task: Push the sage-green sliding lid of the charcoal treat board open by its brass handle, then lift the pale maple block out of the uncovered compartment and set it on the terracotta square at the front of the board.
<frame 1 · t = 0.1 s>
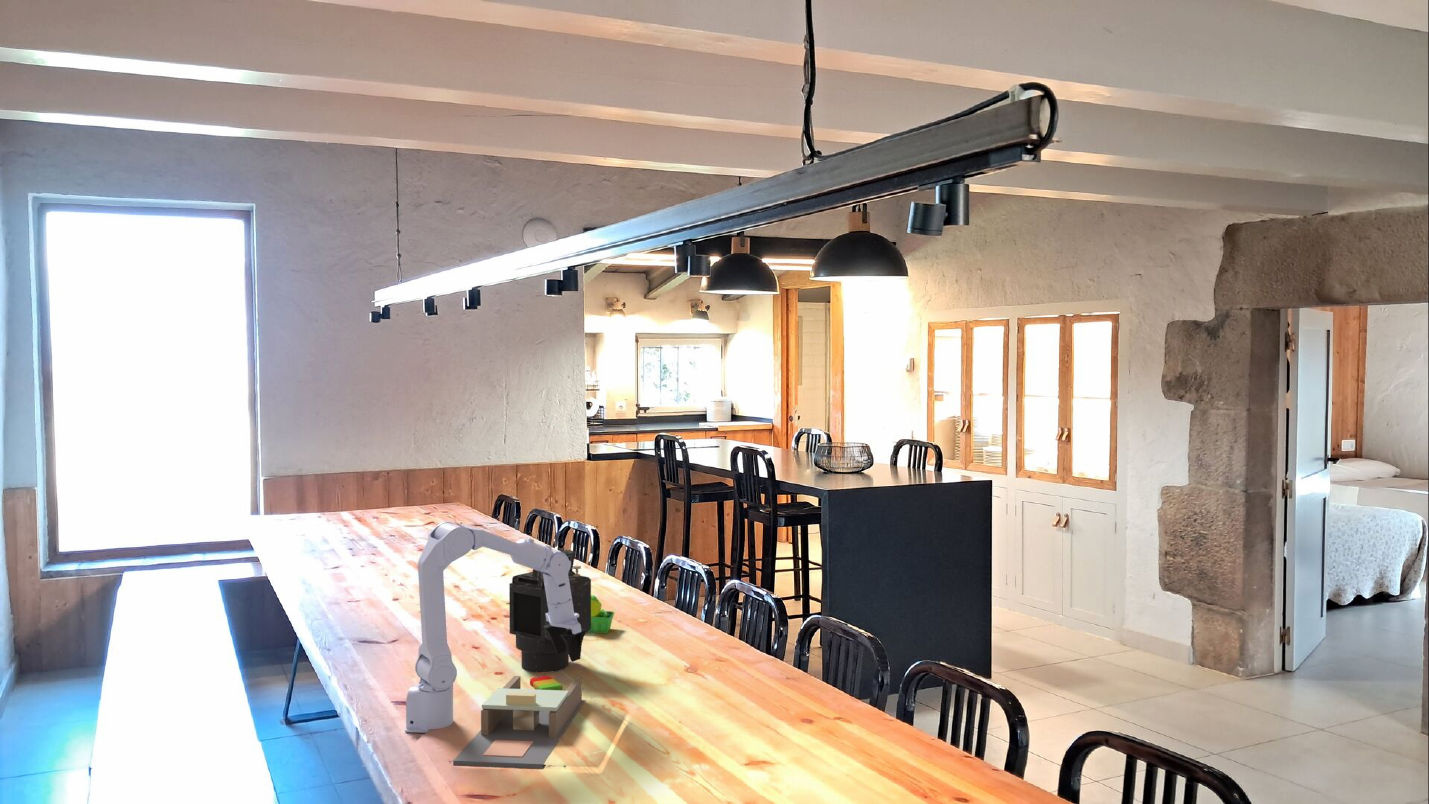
hand: (568, 656, 236), 11 cm above the table, tool pointing down, fingers open, 7 cm apart
board: (526, 730, 217), on the table
popsicle: (549, 693, 244), on the table
block: (526, 726, 217), point 1 cm above the table, touching board
lid: (526, 694, 217), point 8 cm above the table, slide at 0.0 cm
fruit basket: (593, 631, 299), on the table
lantern: (549, 667, 263), on the table
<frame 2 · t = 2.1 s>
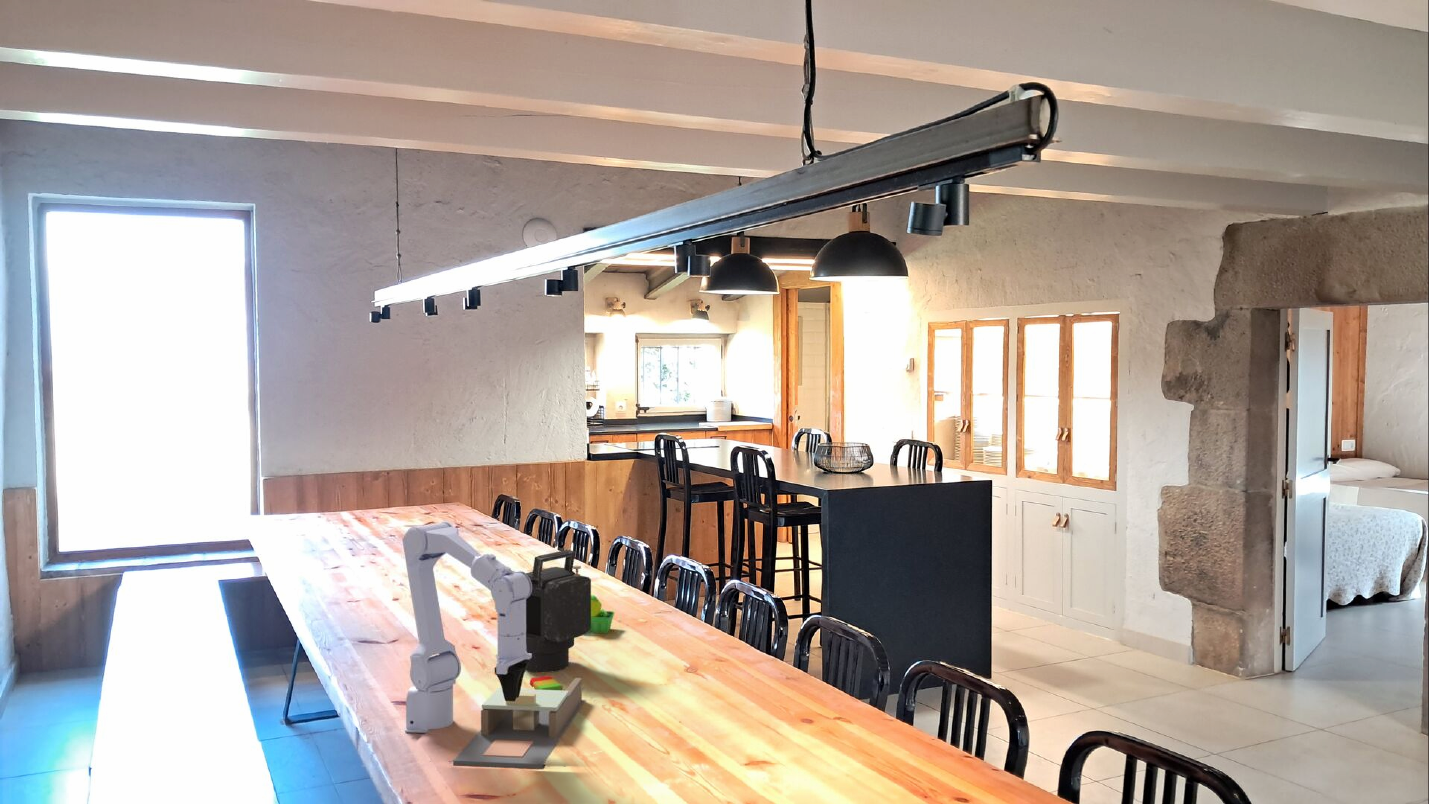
hand: (512, 698, 206), 10 cm above the table, tool pointing down, fingers closed
nothing on the table moved.
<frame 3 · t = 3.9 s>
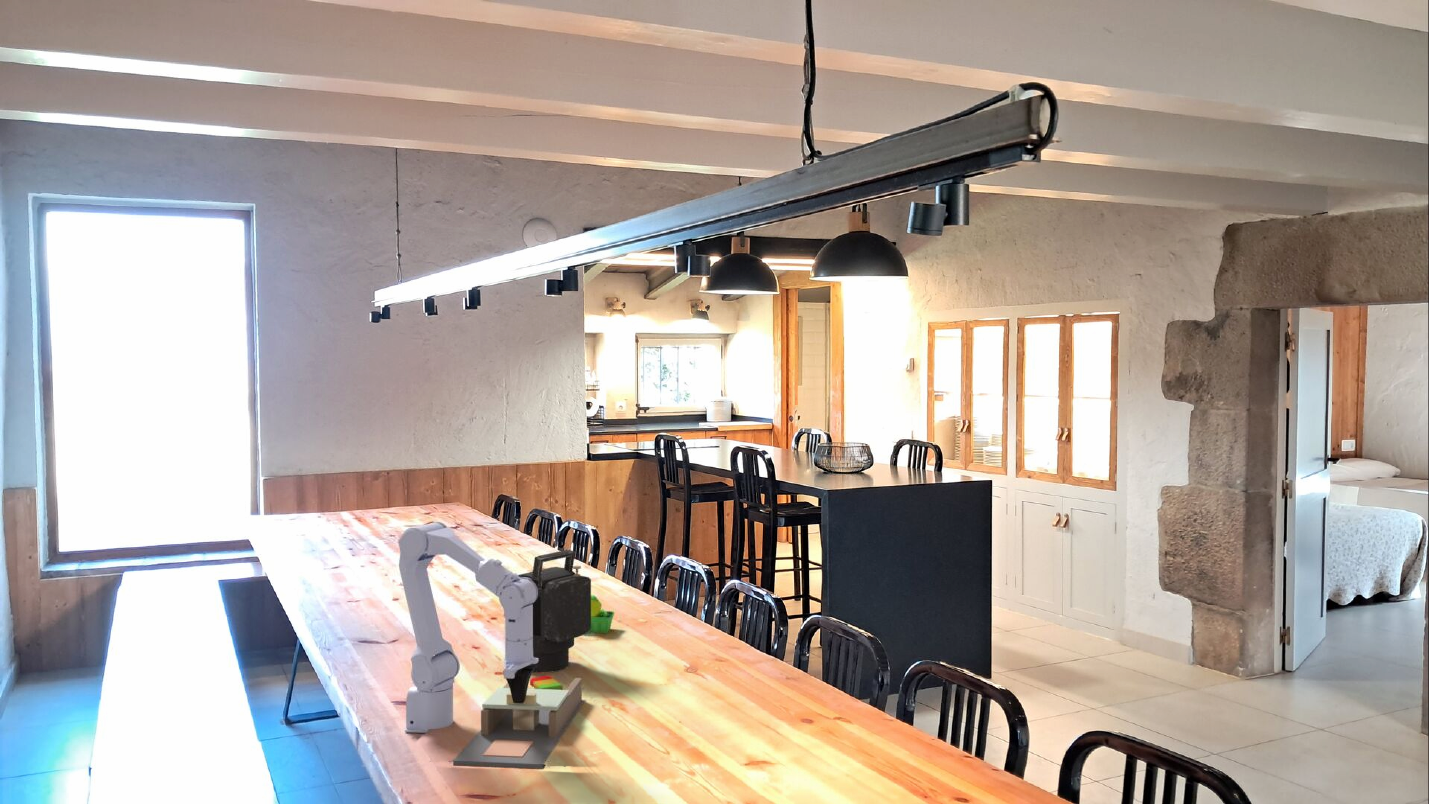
hand: (519, 702, 211), 8 cm above the table, tool pointing down, fingers closed
lid: (526, 694, 217), point 8 cm above the table, slide at 0.4 cm, touching gripper
everything else where it was.
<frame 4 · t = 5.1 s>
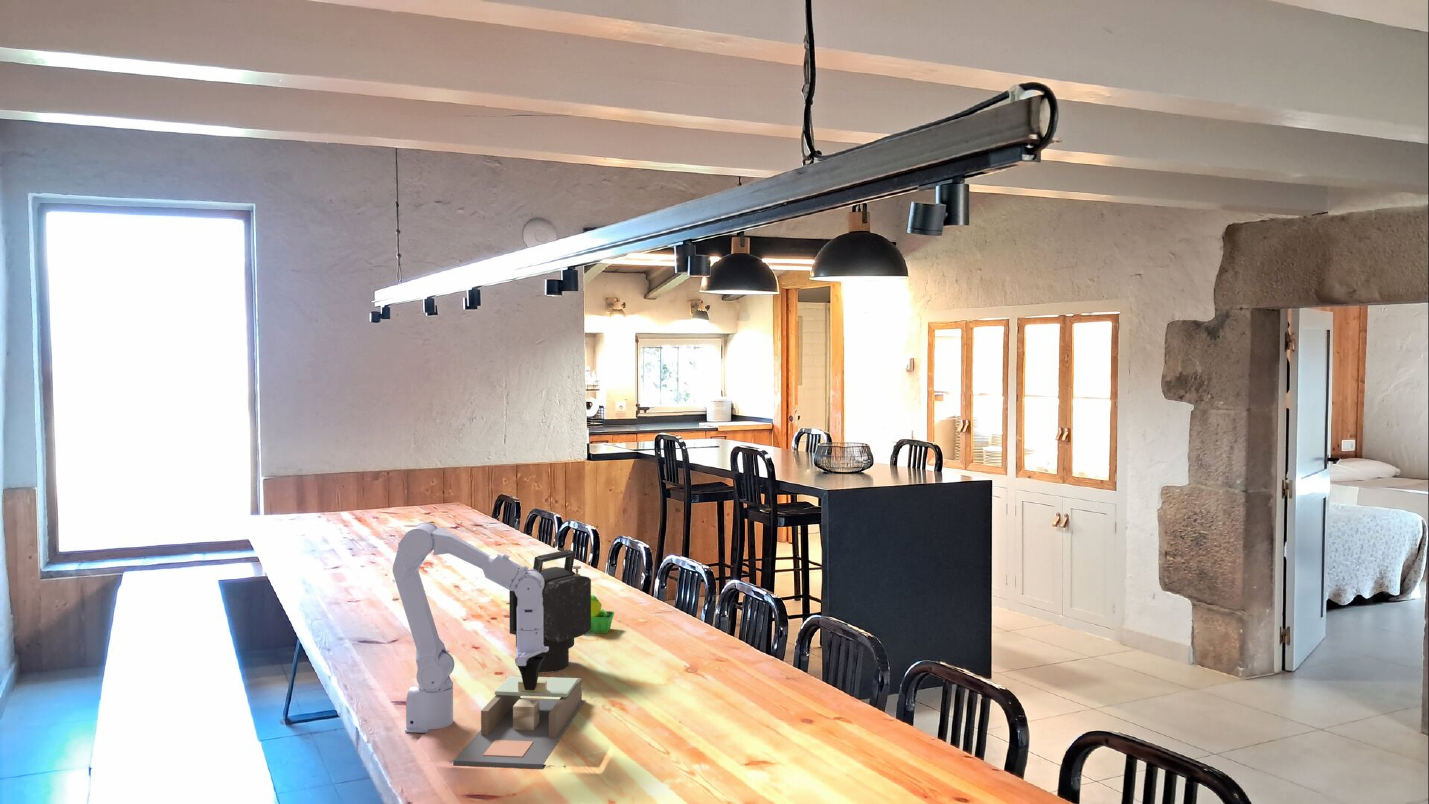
hand: (530, 689, 220), 8 cm above the table, tool pointing down, fingers closed
lid: (537, 682, 226), point 8 cm above the table, slide at 8.9 cm, touching gripper
everything else where it was.
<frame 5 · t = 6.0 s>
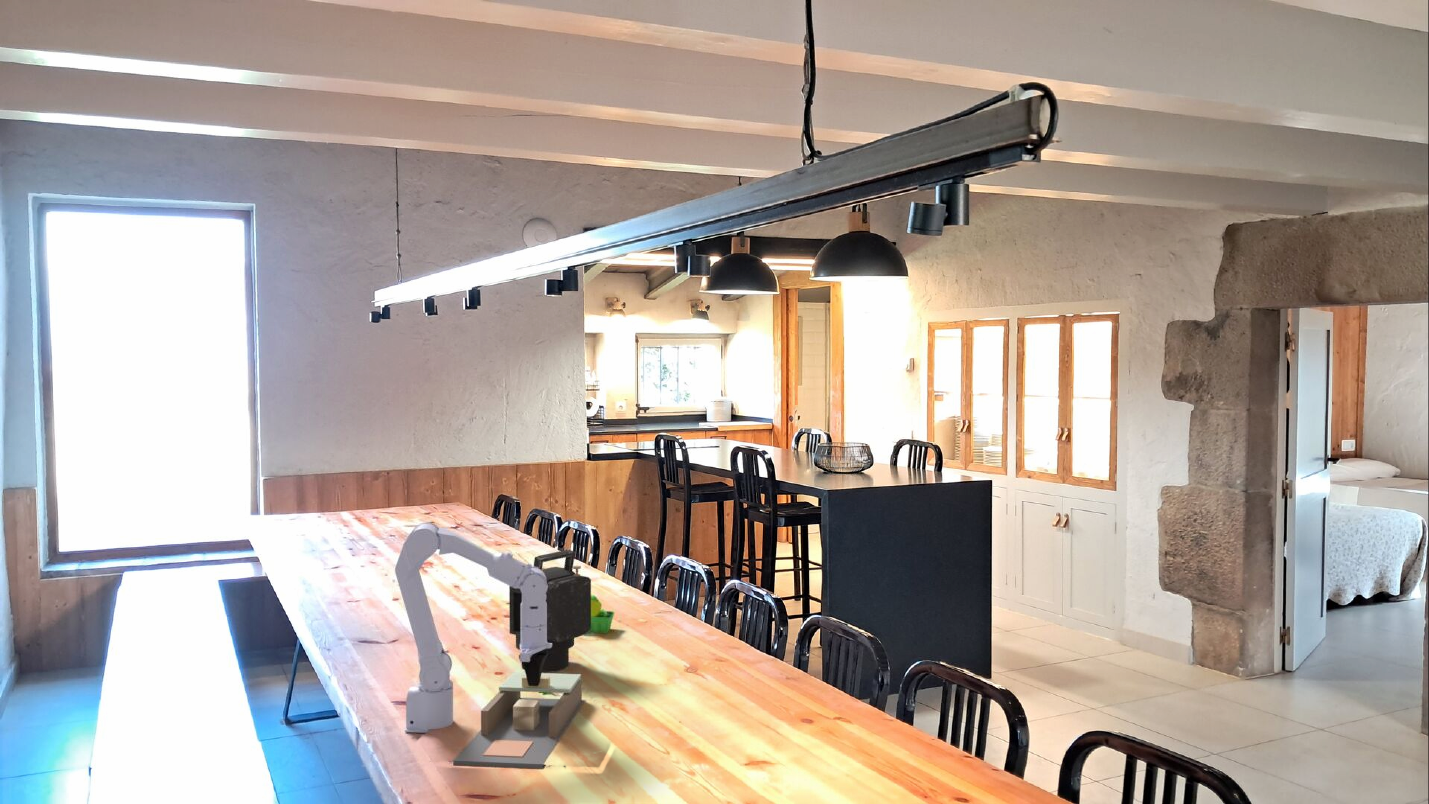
hand: (533, 685, 223), 8 cm above the table, tool pointing down, fingers closed
lid: (540, 678, 228), point 8 cm above the table, slide at 11.8 cm, touching gripper
everything else where it was.
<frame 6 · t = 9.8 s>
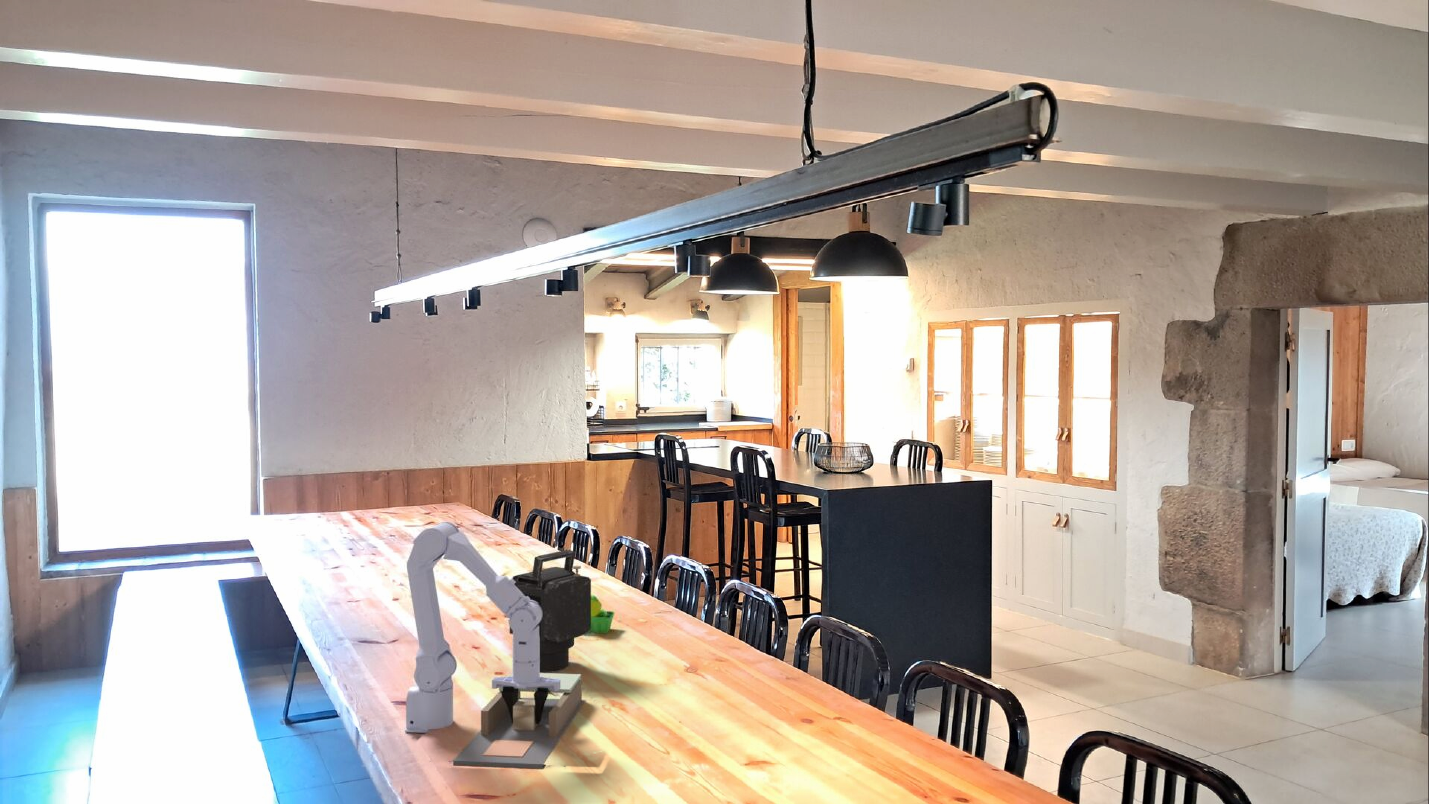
hand: (526, 722, 217), 2 cm above the table, tool pointing down, fingers closed on block, 4 cm apart
block: (526, 726, 217), point 1 cm above the table, touching board, gripper
lid: (540, 677, 229), point 8 cm above the table, slide at 11.8 cm
everything else where it was.
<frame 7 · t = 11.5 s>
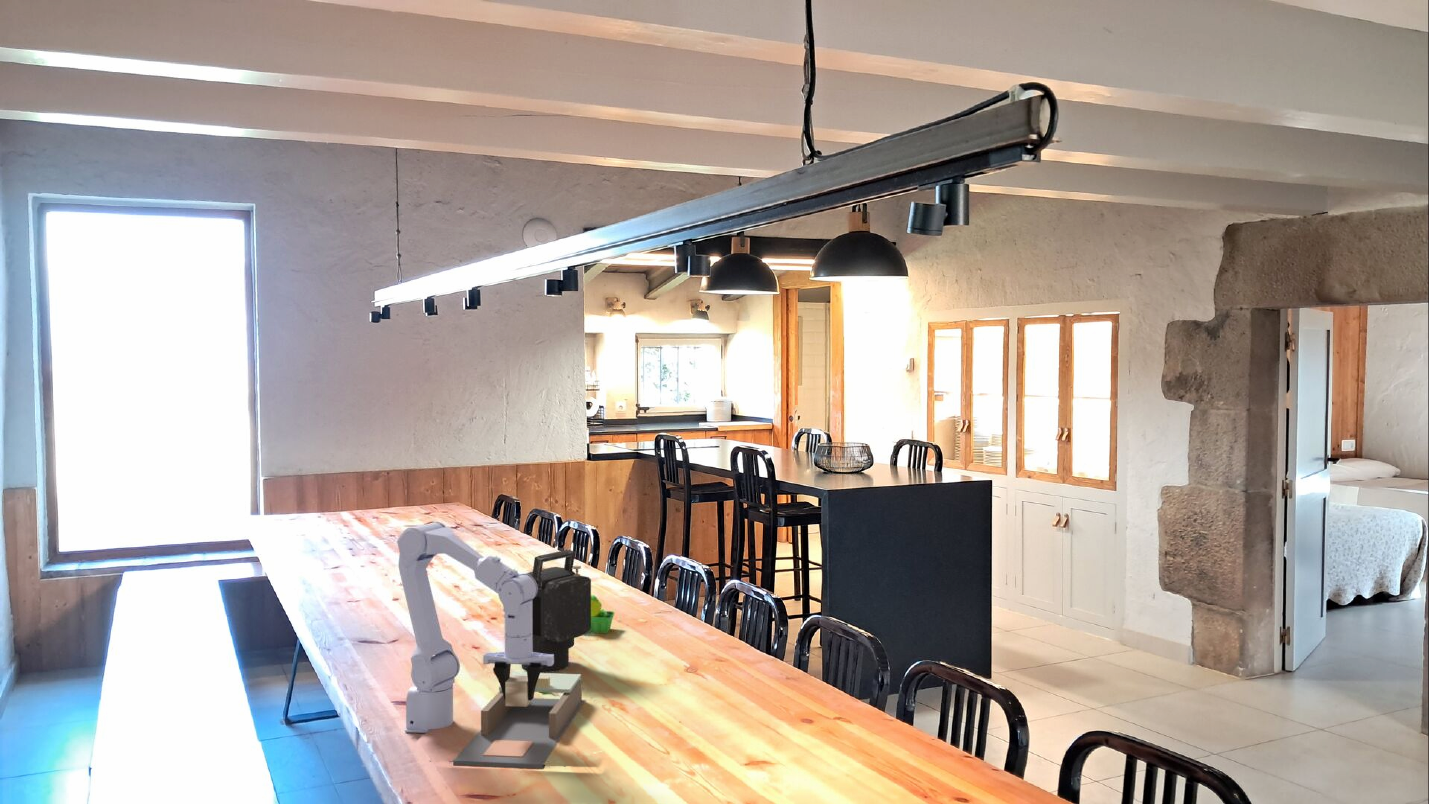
hand: (518, 698, 211), 9 cm above the table, tool pointing down, fingers closed on block, 4 cm apart
block: (519, 702, 211), point 8 cm above the table, touching gripper
everything else where it was.
when the fingers open (4 cm above the table, at t = 13.4 s): block drops 1 cm, resting on board.
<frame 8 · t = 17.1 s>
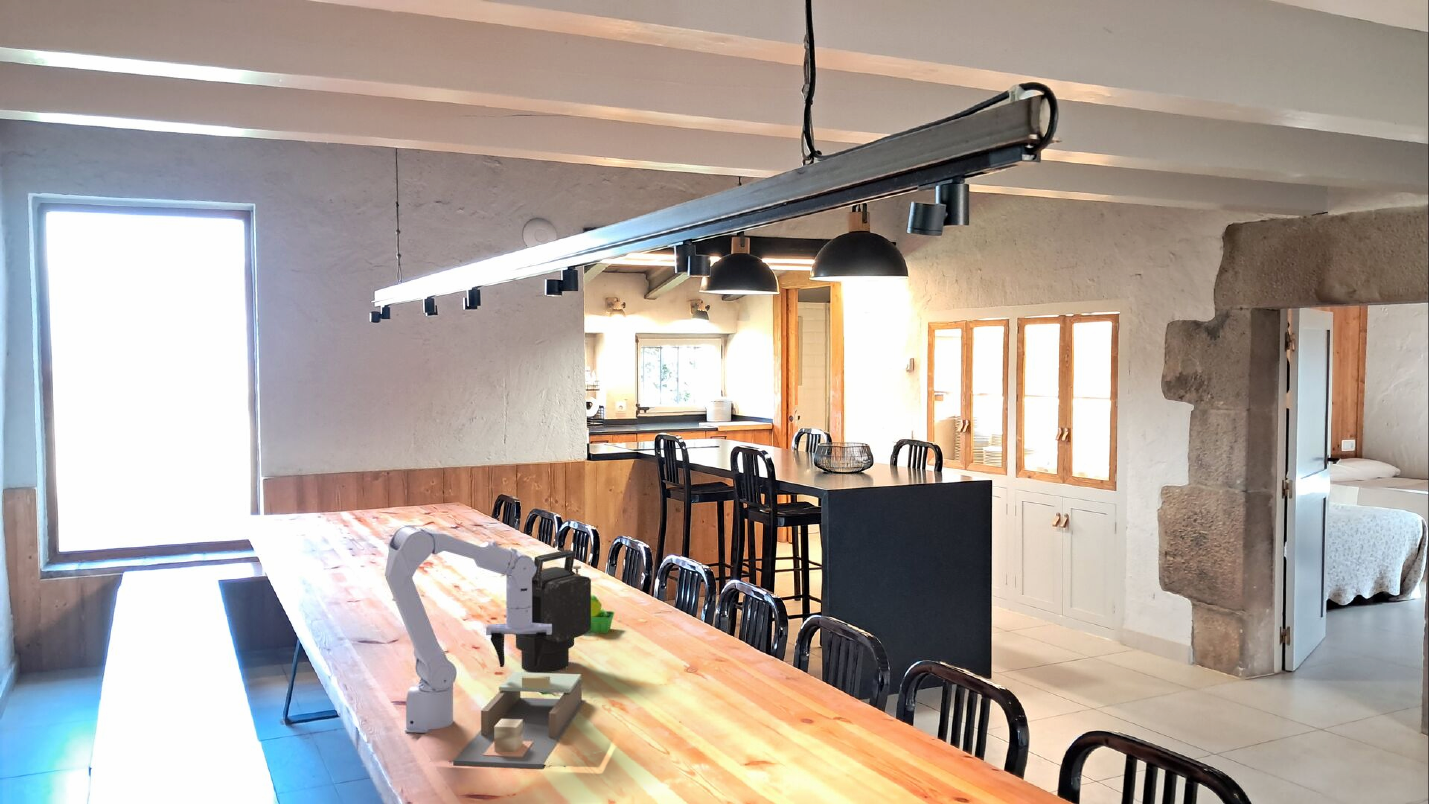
hand: (519, 665, 229), 10 cm above the table, tool pointing down, fingers open, 7 cm apart
block: (508, 747, 204), point 1 cm above the table, touching board
everything else where it was.
at the end: lid slide at 11.8 cm; block inside the target area on the board (0.3 cm from its centre), point 1.2 cm above the board's base; block tilted 0° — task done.
